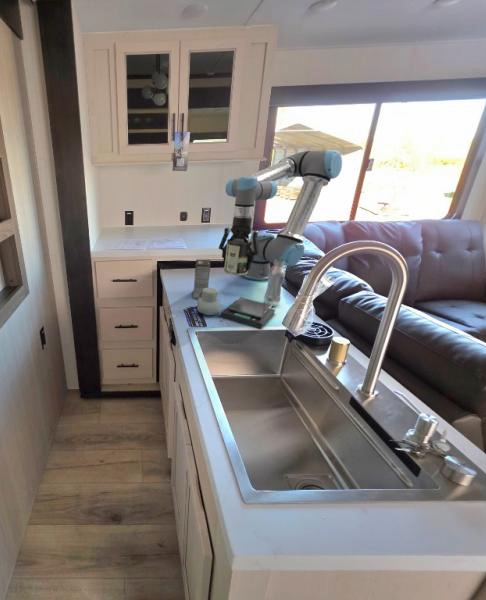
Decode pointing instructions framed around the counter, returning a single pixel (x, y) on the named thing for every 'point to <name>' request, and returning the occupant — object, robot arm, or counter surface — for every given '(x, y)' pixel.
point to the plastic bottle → (274, 283)
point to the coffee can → (236, 257)
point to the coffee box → (201, 277)
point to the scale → (247, 317)
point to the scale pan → (250, 308)
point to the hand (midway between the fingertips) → (236, 267)
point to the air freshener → (208, 302)
